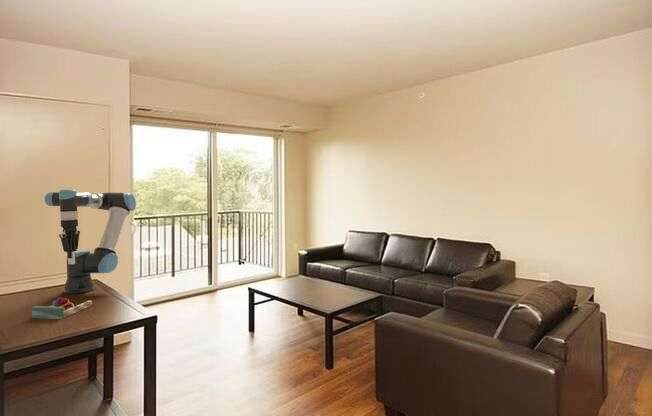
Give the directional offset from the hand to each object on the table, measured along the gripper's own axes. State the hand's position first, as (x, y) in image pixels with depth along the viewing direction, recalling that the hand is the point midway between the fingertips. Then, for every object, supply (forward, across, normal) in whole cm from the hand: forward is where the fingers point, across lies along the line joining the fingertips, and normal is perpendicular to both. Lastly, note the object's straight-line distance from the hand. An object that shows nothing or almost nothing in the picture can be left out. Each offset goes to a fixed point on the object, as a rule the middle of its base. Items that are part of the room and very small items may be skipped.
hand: (71, 263), depth 201 cm
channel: (+20, +13, +5) cm, 25 cm away
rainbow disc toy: (+21, +15, +4) cm, 26 cm away
